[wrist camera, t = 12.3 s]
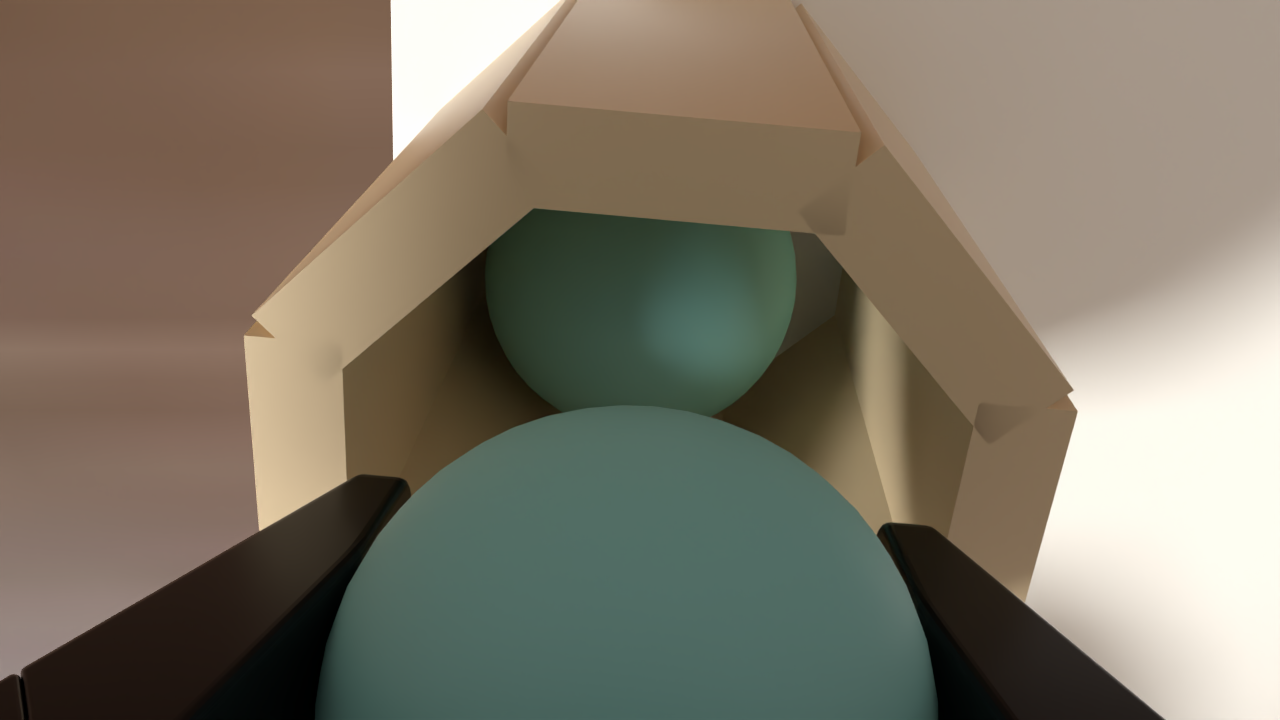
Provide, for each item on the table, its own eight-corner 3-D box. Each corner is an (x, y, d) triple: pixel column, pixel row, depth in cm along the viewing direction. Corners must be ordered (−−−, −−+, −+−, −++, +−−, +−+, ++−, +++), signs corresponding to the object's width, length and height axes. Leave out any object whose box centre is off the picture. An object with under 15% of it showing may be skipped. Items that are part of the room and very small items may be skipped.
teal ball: (847, 742, 10) (926, 1249, 7) (403, 700, 10) (239, 1179, 7) (929, 338, 8) (1100, 717, 5) (399, 289, 8) (170, 631, 5)
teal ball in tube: (766, 365, 17) (784, 507, 14) (506, 341, 17) (455, 477, 14) (803, 104, 16) (835, 187, 12) (513, 78, 16) (459, 154, 12)
